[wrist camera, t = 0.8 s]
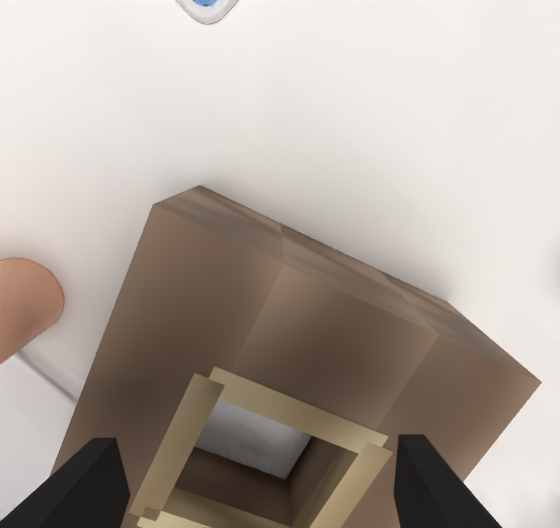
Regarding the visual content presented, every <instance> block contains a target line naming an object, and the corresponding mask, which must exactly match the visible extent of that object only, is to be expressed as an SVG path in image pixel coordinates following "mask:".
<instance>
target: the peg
mask: <svg viewBox="0 0 560 528" xmlns="http://www.w3.org/2000/svg"><path fill="white" fill-rule="evenodd" d="M63 307H64V296H63V292H62V289H61V286H60V284H59V282H58V281H57V279H56V278H55V277H54V276H53V274H52V273H51V272H50V271H49V270H47V269H46V268H45V267H43V266H42V265H40V264H38V263H36V262H34V261H31V260H28V259H24V258H8V259H4V260H1V261H0V364H1V363H3V362H4V361H5V360H7V359H8V358H9V357H11V356H12V355H13V354H14V353H16V352H17V351H18V350H20V349H21V348H22V347H24V346H25V345H26V344H28V343H29V342H30V341H31V340H33V339H34V338H35V337H37V336H38V335H39V334H41V333H42V332H43V331H45V330H46V329H47V328H48V327H50V326H51V325H52V324H54V323H55V322H56V321H57V320H58V318H59V317H60V315H61V313H62V311H63Z"/></svg>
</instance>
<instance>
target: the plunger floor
mask: <svg viewBox="0 0 560 528" xmlns="http://www.w3.org/2000/svg"><path fill="white" fill-rule="evenodd" d="M311 437H312V435H310V434H307V433H305V432H302V431H299V430H297V429H294V428H292V427H289V426H286V425H284V424H281V423H279V422H276V421H274V420H271V419H268V418H266V417H263V416H261V415H258V414H256V413H253V412H250V411H248V410H245V409H243V408H240V407H238V406H235V405H232V404H230V403H227V402H225V401H222V400H220V399H218V400H217V402H216V404H215V406H214V408H213V410H212V412H211V414H210V416H209V418H208V420H207V422H206V424H205V426H204V428H203V430H202V432H201V434H200V436H199V438H198V440H197V442H196V444H195V447H198V448H200V449H203V450H206V451H208V452H211V453H214V454H217V455H219V456H222V457H225V458H228V459H230V460H233V461H236V462H239V463H241V464H244V465H247V466H250V467H252V468H255V469H258V470H261V471H263V472H266V473H269V474H272V475H274V476H277V477H280V478H282V479H286V477H287V476H288V474H289V473H290V471H291V469H292V468H293V466H294V464H295V463H296V461H297V460H298V458H299V456H300V455H301V453H302V451H303V450H304V448H305V446H306V445H307V443H308V442H309V440H310V438H311Z"/></svg>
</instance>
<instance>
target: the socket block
mask: <svg viewBox="0 0 560 528" xmlns="http://www.w3.org/2000/svg"><path fill="white" fill-rule="evenodd" d="M541 383H542V382H541V381H540V380H539V379H537V378H536V377H535V376H534V375H533V374H532V373H530V372H529V371H528V370H527V369H526V368H524V367H523V366H522V365H521V364H520V363H519V362H517V361H516V360H515V359H514V358H513V357H511V356H510V355H509V354H508V353H507V352H506V351H504V350H503V349H502V348H501V347H500V346H498V345H497V344H496V343H495V342H494V341H493V340H491V339H490V338H489V337H488V336H487V335H485V334H484V333H483V332H482V331H481V330H480V329H478V328H477V327H476V326H475V325H474V324H472V323H471V322H470V321H469V320H468V319H467V318H465V317H464V316H463V315H462V314H461V313H460V312H458V311H457V310H456V309H455V308H454V307H452V306H451V305H450V304H449V303H447V302H445V301H443V300H440V299H438V298H436V297H434V296H432V295H430V294H428V293H426V292H424V291H422V290H419V289H417V288H415V287H413V286H411V285H409V284H407V283H405V282H403V281H400V280H398V279H396V278H394V277H392V276H390V275H388V274H386V273H384V272H381V271H379V270H377V269H375V268H373V267H371V266H369V265H367V264H365V263H362V262H360V261H358V260H356V259H354V258H352V257H350V256H348V255H346V254H343V253H341V252H339V251H337V250H335V249H333V248H331V247H329V246H327V245H325V244H322V243H320V242H318V241H316V240H314V239H312V238H310V237H308V236H306V235H303V234H301V233H299V232H297V231H295V230H293V229H291V228H289V227H287V226H284V225H282V224H280V223H278V222H276V221H274V220H272V219H270V218H268V217H265V216H263V215H261V214H259V213H257V212H255V211H253V210H251V209H249V208H246V207H244V206H242V205H240V204H238V203H236V202H234V201H232V200H230V199H228V198H225V197H223V196H221V195H219V194H217V193H215V192H213V191H211V190H209V189H206V188H204V187H202V186H200V185H199V186H197V187H195V188H192V189H190V190H187V191H185V192H182V193H180V194H177V195H175V196H173V197H170V198H168V199H165V200H163V201H160V202H158V203H155V204H153V206H152V209H151V211H150V214H149V217H148V219H147V222H146V225H145V227H144V230H143V232H142V235H141V238H140V240H139V243H138V246H137V248H136V251H135V253H134V256H133V259H132V261H131V264H130V267H129V269H128V272H127V274H126V277H125V280H124V282H123V285H122V288H121V290H120V293H119V295H118V298H117V301H116V303H115V306H114V309H113V311H112V314H111V316H110V319H109V322H108V324H107V327H106V330H105V332H104V335H103V337H102V340H101V343H100V345H99V348H98V351H97V353H96V356H95V358H94V361H93V364H92V366H91V369H90V372H89V374H88V377H87V379H86V382H85V385H84V387H83V390H82V393H81V395H80V398H79V401H78V403H77V406H76V408H75V411H74V414H73V416H72V419H71V422H70V424H69V427H68V429H67V432H66V435H65V437H64V440H63V443H62V445H61V448H60V450H59V453H58V456H57V458H56V461H55V464H54V466H53V469H52V471H51V474H50V476H51V475H52V474H54V473H55V472H56V471H57V470H58V469H59V468H60V467H61V466H62V465H63V464H64V463H65V462H67V461H68V460H69V459H70V458H71V457H72V456H73V455H74V454H75V453H76V452H78V451H79V450H80V449H81V448H82V447H83V446H84V445H85V444H86V443H88V442H89V441H90V440H91V439H92V438H112V437H116V439H117V443H118V447H119V451H120V455H121V459H122V463H123V467H124V471H125V475H126V479H127V483H128V487H129V491H130V495H131V496H130V499H129V502H128V505H127V508H126V512H125V515H124V518H123V521H122V524H121V527H120V528H401V527H400V523H399V518H398V514H397V509H396V504H395V500H394V495H393V492H394V481H395V469H396V458H397V447H398V435H399V434H424V435H425V436H426V437H427V438H428V439H429V441H430V442H431V443H432V444H433V446H434V447H435V448H436V450H437V451H438V452H439V453H440V455H441V456H442V457H443V458H444V460H445V461H446V462H447V463H448V465H449V466H450V467H451V468H452V470H453V471H454V472H455V473H456V474H457V476H458V477H459V478H460V479H461V480H462V482H463V481H464V480H465V479H466V477H467V476H468V475H469V474H470V472H471V471H472V470H473V469H474V467H475V466H476V465H477V464H478V462H479V461H480V460H481V459H482V457H483V456H484V455H485V453H486V452H487V451H488V450H489V448H490V447H491V446H492V445H493V443H494V442H495V441H496V440H497V438H498V437H499V436H500V434H501V433H502V432H503V431H504V429H505V428H506V427H507V426H508V424H509V423H510V422H511V421H512V419H513V418H514V417H515V416H516V414H517V413H518V412H519V410H520V409H521V408H522V407H523V405H524V404H525V403H526V402H527V400H528V399H529V398H530V397H531V395H532V394H533V393H534V391H535V390H536V389H537V388H538V386H539V385H540V384H541ZM218 399H220V400H222V401H225V402H227V403H230V404H232V405H235V406H238V407H240V408H243V409H245V410H248V411H250V412H253V413H256V414H258V415H261V416H263V417H266V418H268V419H271V420H274V421H276V422H279V423H281V424H284V425H286V426H289V427H292V428H294V429H297V430H299V431H302V432H305V433H307V434H310V435H312V437H311V438H310V440H309V442H308V443H307V445H306V446H305V448H304V450H303V451H302V453H301V455H300V456H299V458H298V460H297V461H296V463H295V464H294V466H293V468H292V469H291V471H290V473H289V474H288V476H287V477H286V479H282V478H280V477H277V476H274V475H272V474H269V473H266V472H263V471H261V470H258V469H255V468H252V467H250V466H247V465H244V464H241V463H239V462H236V461H233V460H230V459H228V458H225V457H222V456H219V455H217V454H214V453H211V452H208V451H206V450H203V449H200V448H198V447H195V444H196V442H197V440H198V438H199V436H200V434H201V432H202V430H203V428H204V426H205V424H206V422H207V420H208V418H209V416H210V414H211V412H212V410H213V408H214V406H215V404H216V402H217V400H218Z"/></svg>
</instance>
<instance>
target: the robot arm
mask: <svg viewBox="0 0 560 528" xmlns="http://www.w3.org/2000/svg"><path fill="white" fill-rule="evenodd" d="M393 495H394V500H395V504H396V509H397V514H398V518H399V523H400V527H401V528H502V527H501V526H500V525H499V523H498V522H497V521H496V520H495V519H494V518H493V517H492V515H491V514H490V513H489V512H488V511H487V510H486V509H485V507H484V506H483V505H482V504H481V503H480V502H479V501H478V499H477V498H476V497H475V496H474V495H473V494H472V492H471V491H470V490H469V489H468V488H467V487H466V485H465V484H464V483H463V482H462V480H461V479H460V478H459V477H458V476H457V474H456V473H455V472H454V471H453V470H452V468H451V467H450V466H449V465H448V463H447V462H446V461H445V460H444V458H443V457H442V456H441V455H440V453H439V452H438V451H437V450H436V448H435V447H434V446H433V444H432V443H431V442H430V441H429V439H428V438H427V437H426V436H425V435H424V434H399V435H398V447H397V458H396V469H395V481H394V492H393ZM130 496H131V495H130V491H129V487H128V483H127V479H126V475H125V471H124V467H123V463H122V459H121V455H120V451H119V447H118V443H117V439H116V437H112V438H92V439H91V440H90V441H89V442H88V443H86V444H85V445H84V446H83V447H82V448H81V449H80V450H79V451H78V452H76V453H75V454H74V455H73V456H72V457H71V458H70V459H69V460H68V461H67V462H65V463H64V464H63V465H62V466H61V467H60V468H59V469H58V470H57V471H56V472H55V473H54V474H52V475H51V476H50V477H49V478H48V479H47V480H46V481H45V482H44V483H43V484H41V485H40V486H39V487H38V488H37V489H36V490H35V491H34V492H33V493H31V494H30V495H29V496H28V497H27V498H26V499H25V500H24V501H23V502H21V503H20V504H19V505H18V506H17V507H16V508H15V509H14V510H13V511H11V512H10V513H9V514H8V515H7V516H6V517H5V518H4V519H2V520H1V521H0V528H120V527H121V524H122V521H123V518H124V515H125V512H126V508H127V505H128V502H129V499H130Z"/></svg>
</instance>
